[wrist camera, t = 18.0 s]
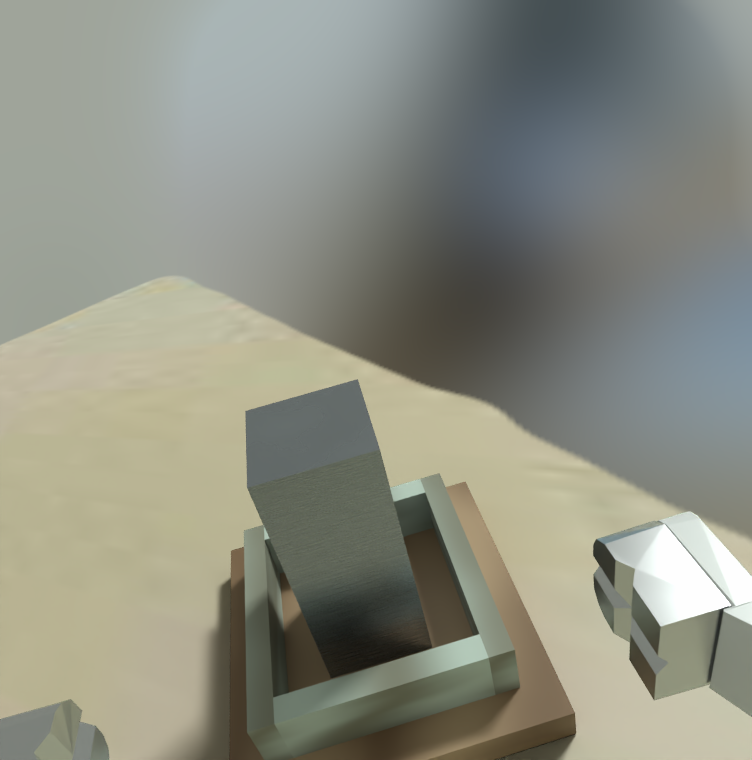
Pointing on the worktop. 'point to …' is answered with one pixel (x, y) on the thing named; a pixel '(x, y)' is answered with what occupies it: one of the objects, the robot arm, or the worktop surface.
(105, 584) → the worktop surface
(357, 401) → the graphite post
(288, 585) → the stand
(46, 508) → the worktop surface
